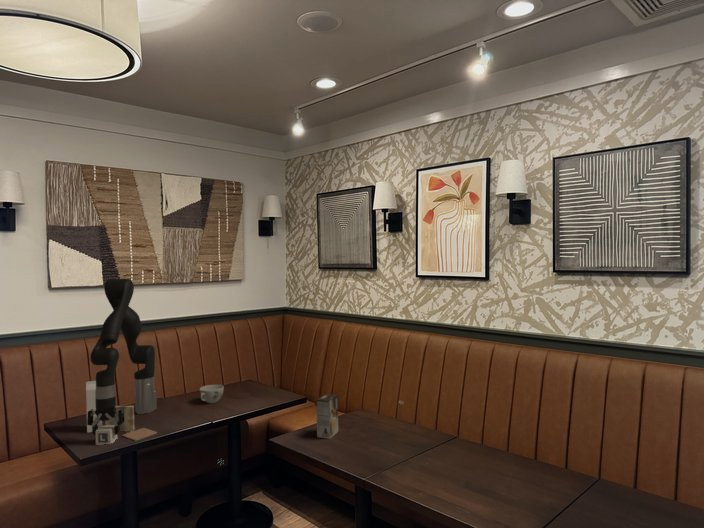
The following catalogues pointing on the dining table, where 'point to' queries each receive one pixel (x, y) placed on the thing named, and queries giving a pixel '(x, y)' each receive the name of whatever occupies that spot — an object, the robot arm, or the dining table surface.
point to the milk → (91, 402)
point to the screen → (129, 419)
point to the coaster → (139, 434)
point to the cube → (105, 435)
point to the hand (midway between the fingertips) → (106, 434)
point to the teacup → (211, 393)
